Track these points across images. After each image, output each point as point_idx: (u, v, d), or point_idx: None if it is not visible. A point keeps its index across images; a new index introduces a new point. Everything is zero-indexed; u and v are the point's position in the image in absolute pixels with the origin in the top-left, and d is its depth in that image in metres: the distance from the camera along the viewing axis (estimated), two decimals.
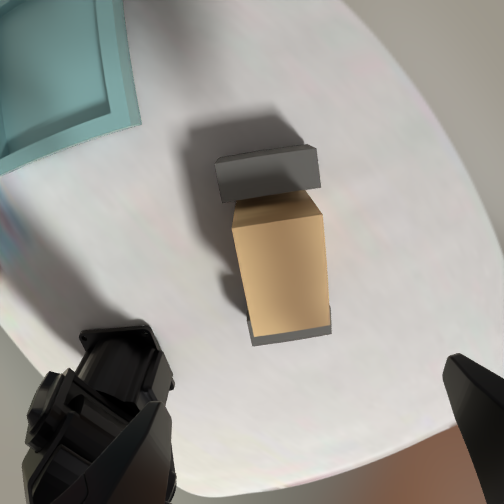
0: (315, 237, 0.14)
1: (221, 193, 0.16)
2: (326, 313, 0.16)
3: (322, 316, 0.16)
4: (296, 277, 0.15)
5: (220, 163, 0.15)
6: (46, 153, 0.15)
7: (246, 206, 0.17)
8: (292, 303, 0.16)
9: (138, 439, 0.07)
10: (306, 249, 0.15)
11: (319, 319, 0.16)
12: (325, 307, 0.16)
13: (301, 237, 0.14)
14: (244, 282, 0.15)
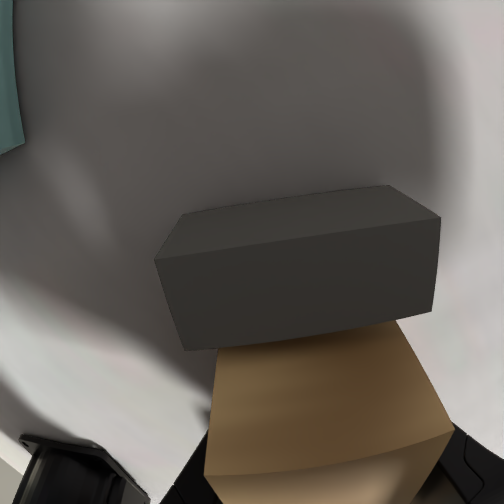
0: (420, 465, 0.04)
1: (180, 331, 0.06)
2: None
3: None
4: None
5: (171, 257, 0.05)
6: None
7: (246, 345, 0.07)
8: None
9: None
10: (390, 484, 0.04)
11: None
12: None
13: (388, 472, 0.04)
14: None
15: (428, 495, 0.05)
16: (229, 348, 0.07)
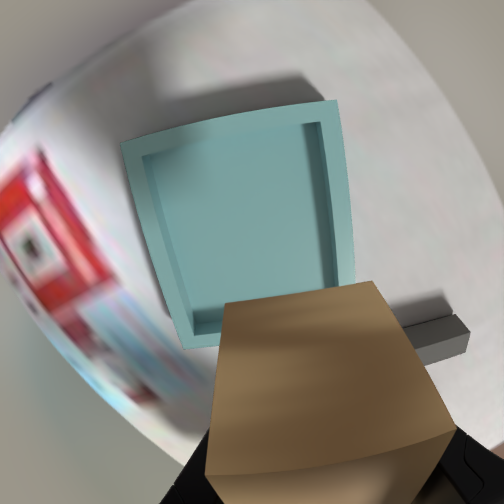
0: (421, 464, 0.04)
1: None
2: None
3: None
4: None
5: (416, 348, 0.19)
6: None
7: (247, 344, 0.07)
8: None
9: None
10: (391, 483, 0.04)
11: None
12: None
13: (390, 471, 0.04)
14: None
15: (429, 495, 0.05)
16: (230, 347, 0.07)
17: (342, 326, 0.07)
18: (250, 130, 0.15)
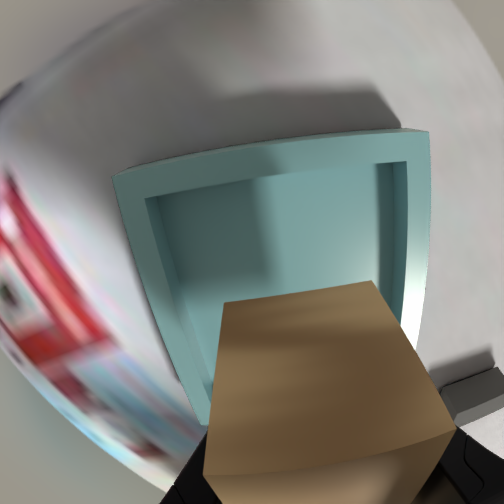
0: (421, 464, 0.04)
1: None
2: None
3: None
4: None
5: (460, 412, 0.15)
6: None
7: (246, 343, 0.07)
8: None
9: None
10: (391, 483, 0.04)
11: None
12: None
13: (389, 472, 0.04)
14: None
15: (429, 495, 0.05)
16: (229, 347, 0.07)
17: (341, 325, 0.07)
18: (311, 168, 0.10)
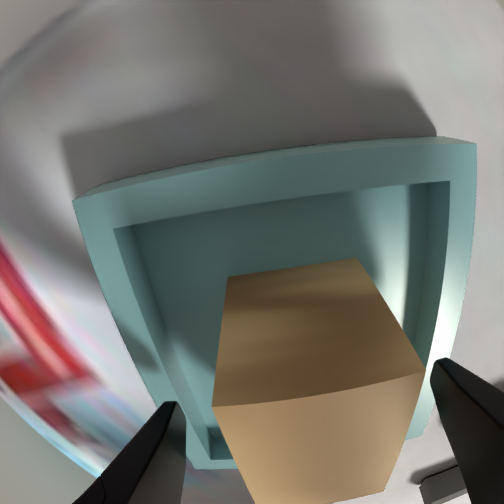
0: (399, 408, 0.05)
1: None
2: (382, 483, 0.07)
3: (374, 487, 0.07)
4: (345, 461, 0.06)
5: None
6: None
7: (247, 307, 0.08)
8: (329, 484, 0.07)
9: (154, 440, 0.07)
10: (375, 428, 0.06)
11: (368, 490, 0.07)
12: (383, 479, 0.07)
13: (371, 412, 0.05)
14: (243, 471, 0.06)
15: (494, 466, 0.05)
16: (232, 310, 0.08)
17: (328, 292, 0.08)
18: (332, 190, 0.07)
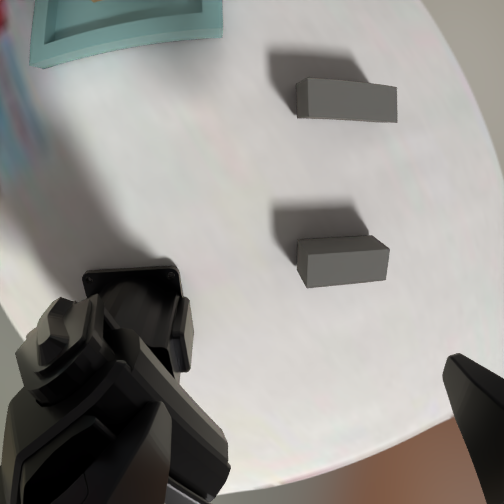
0: None
1: (309, 106, 0.14)
2: None
3: None
4: None
5: (312, 78, 0.14)
6: (111, 40, 0.13)
7: None
8: None
9: (138, 439, 0.07)
10: None
11: None
12: None
13: None
14: None
15: None
16: None
17: None
18: None
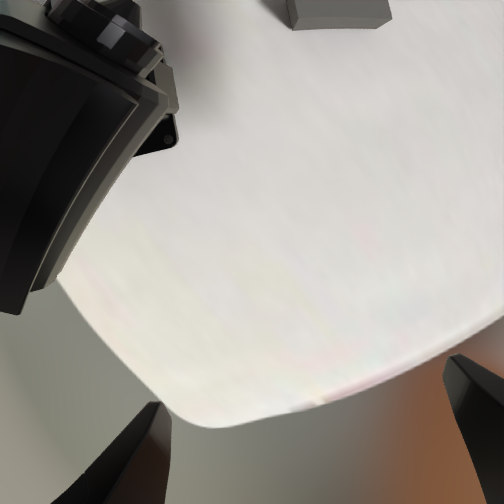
0: None
1: None
2: None
3: None
4: None
5: None
6: None
7: None
8: None
9: (138, 439, 0.07)
10: None
11: None
12: None
13: None
14: None
15: None
16: None
17: None
18: None
